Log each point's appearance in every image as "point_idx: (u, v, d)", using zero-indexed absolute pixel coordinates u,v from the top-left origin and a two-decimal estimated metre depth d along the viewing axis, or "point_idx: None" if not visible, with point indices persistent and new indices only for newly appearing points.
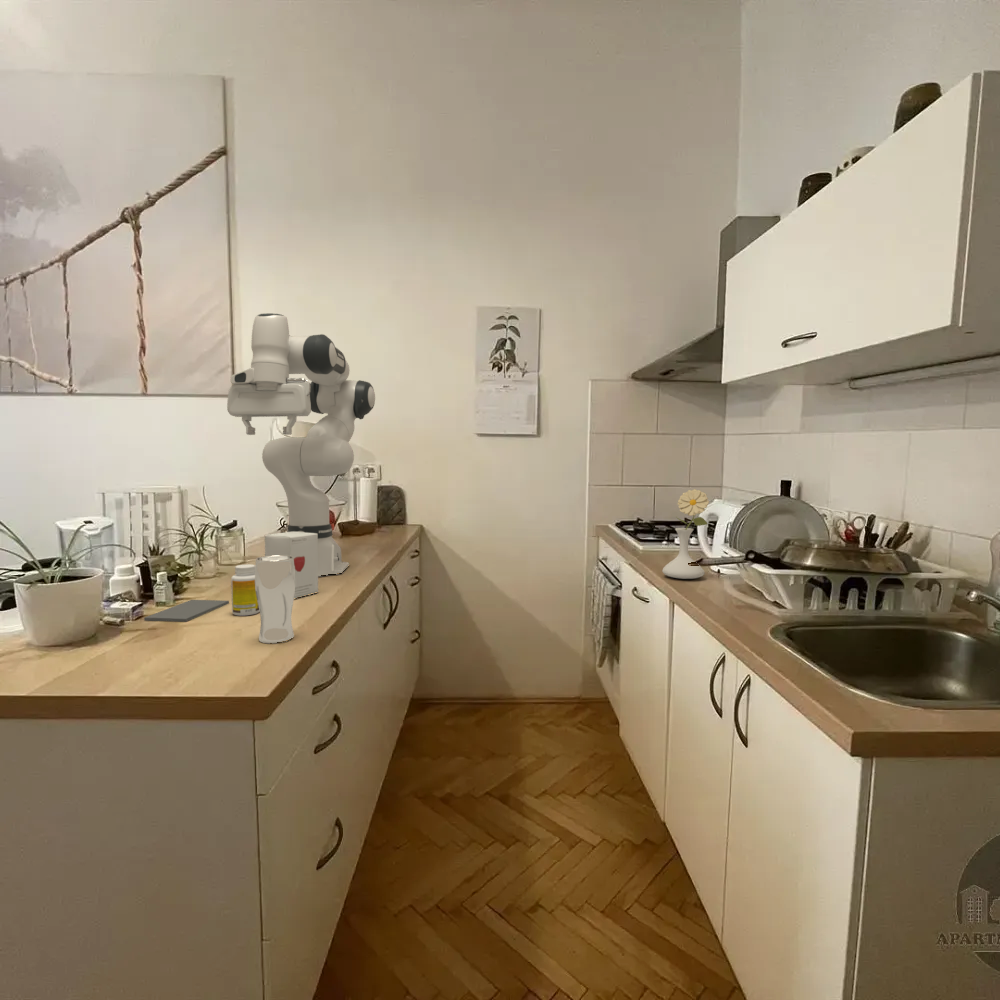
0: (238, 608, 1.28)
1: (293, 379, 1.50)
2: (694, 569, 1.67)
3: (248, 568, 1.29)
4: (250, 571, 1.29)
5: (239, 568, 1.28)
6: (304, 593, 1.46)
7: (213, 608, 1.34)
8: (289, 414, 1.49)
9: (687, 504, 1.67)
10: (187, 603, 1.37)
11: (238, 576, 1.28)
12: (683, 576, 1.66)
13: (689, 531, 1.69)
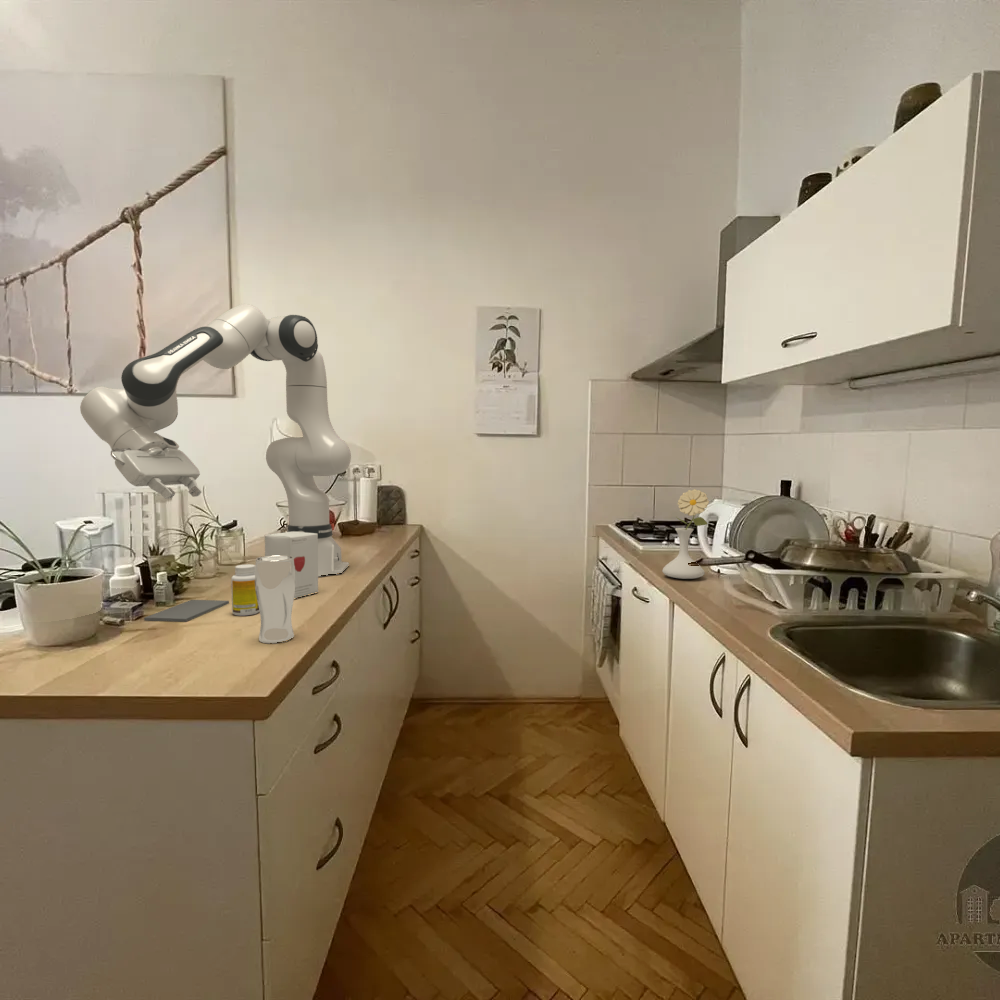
0: (238, 608, 1.28)
1: None
2: (694, 569, 1.67)
3: (248, 568, 1.29)
4: (250, 571, 1.29)
5: (239, 568, 1.28)
6: (304, 593, 1.46)
7: (213, 608, 1.34)
8: None
9: (687, 504, 1.67)
10: (187, 603, 1.37)
11: (238, 576, 1.28)
12: (683, 576, 1.66)
13: (689, 531, 1.69)
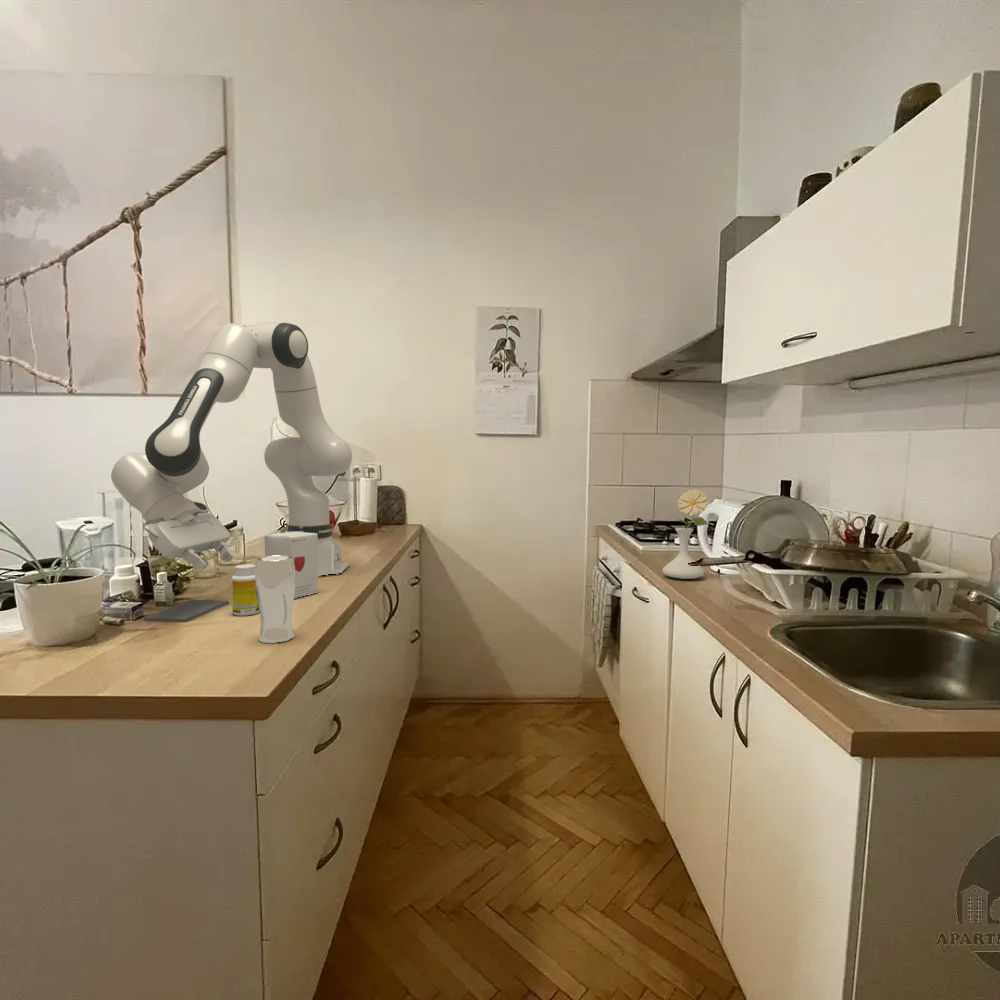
0: (238, 608, 1.28)
1: None
2: (694, 569, 1.67)
3: (248, 568, 1.29)
4: (250, 571, 1.29)
5: (239, 568, 1.28)
6: (304, 593, 1.46)
7: (213, 608, 1.34)
8: None
9: (687, 504, 1.67)
10: (187, 603, 1.37)
11: (238, 576, 1.28)
12: (683, 576, 1.66)
13: (689, 531, 1.69)
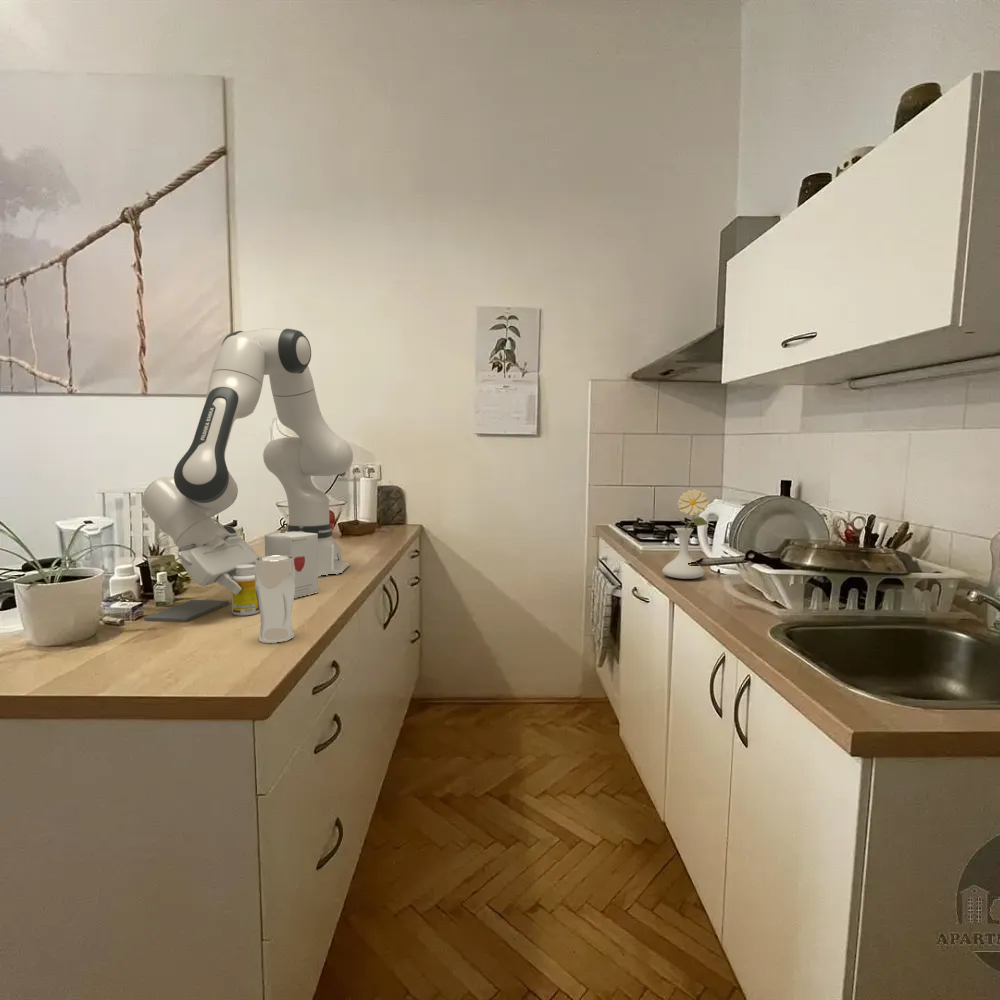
0: (238, 608, 1.28)
1: None
2: (694, 569, 1.67)
3: (248, 568, 1.29)
4: (250, 571, 1.29)
5: (239, 568, 1.28)
6: (304, 593, 1.46)
7: (213, 608, 1.34)
8: (214, 582, 1.25)
9: (687, 504, 1.67)
10: (187, 603, 1.37)
11: (238, 576, 1.28)
12: (683, 576, 1.66)
13: (689, 531, 1.69)
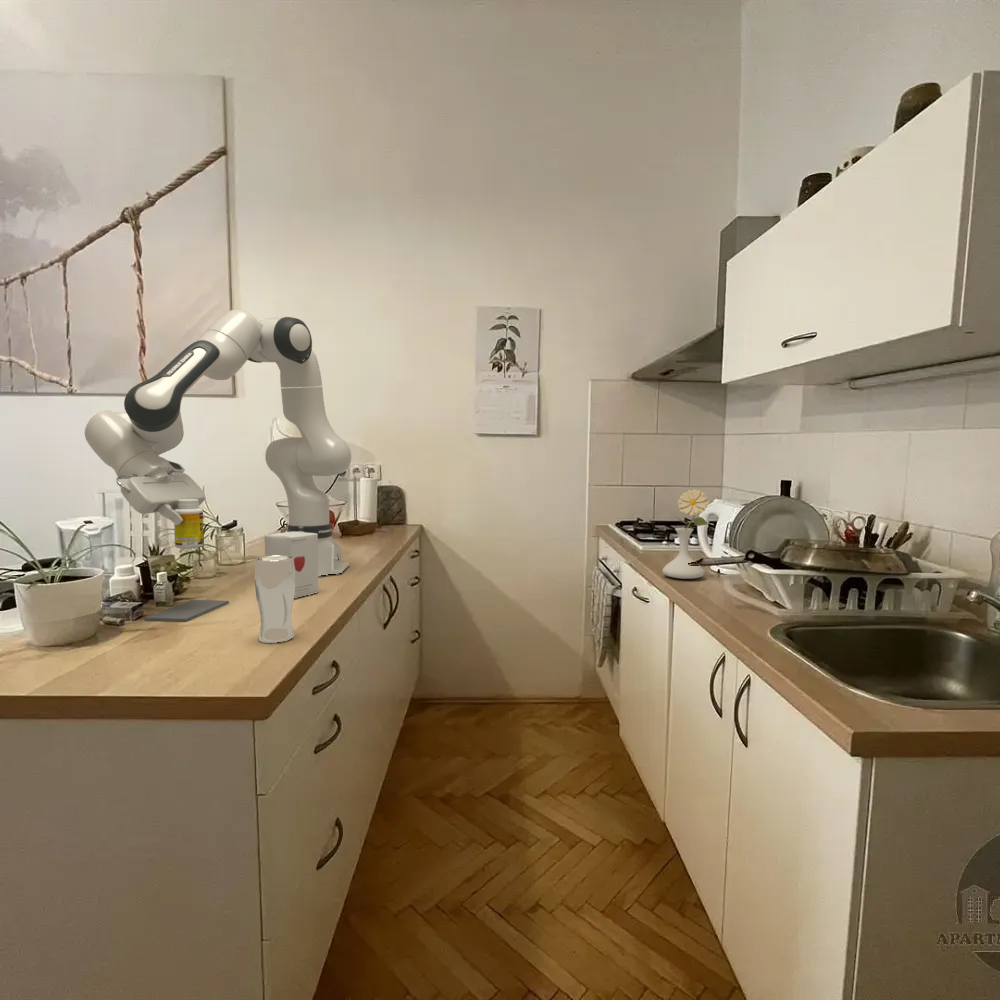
0: (180, 541, 1.28)
1: None
2: (694, 569, 1.67)
3: (190, 501, 1.29)
4: (193, 504, 1.29)
5: (181, 501, 1.29)
6: (304, 593, 1.46)
7: (213, 608, 1.34)
8: (154, 512, 1.25)
9: (687, 504, 1.67)
10: (187, 603, 1.37)
11: (180, 509, 1.29)
12: (683, 576, 1.66)
13: (689, 531, 1.69)
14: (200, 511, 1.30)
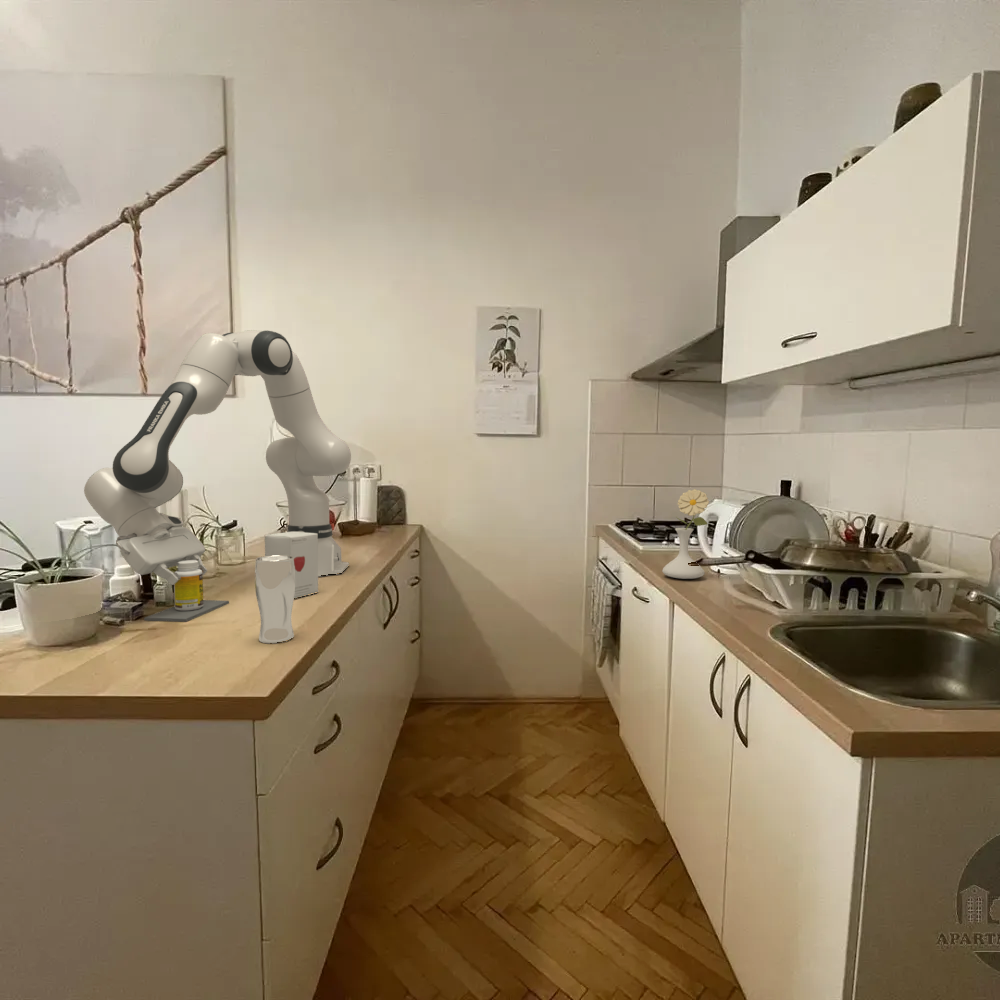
0: (180, 603, 1.30)
1: None
2: (694, 569, 1.67)
3: (190, 564, 1.30)
4: (192, 566, 1.31)
5: (181, 564, 1.30)
6: (304, 593, 1.46)
7: (213, 608, 1.34)
8: (154, 571, 1.26)
9: (687, 504, 1.67)
10: None
11: (180, 572, 1.30)
12: (683, 576, 1.66)
13: (689, 531, 1.69)
14: (200, 573, 1.31)
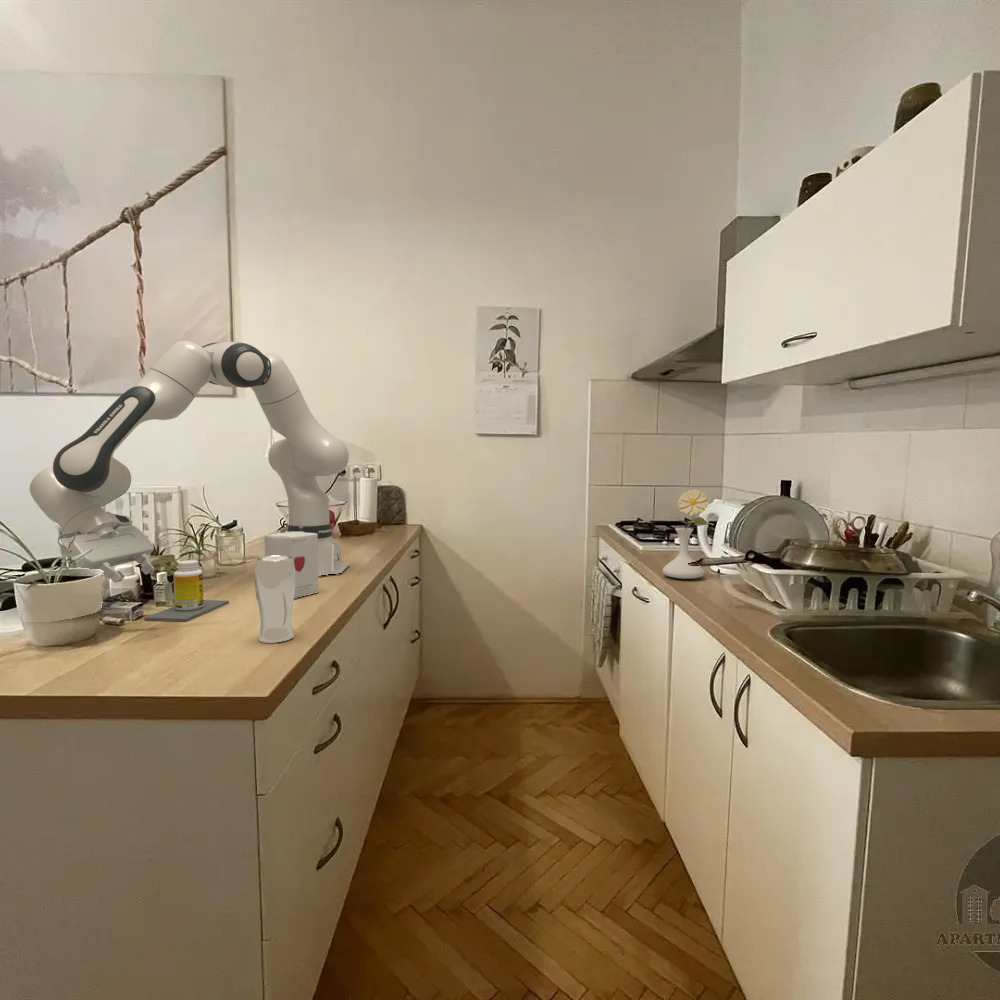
0: (180, 603, 1.30)
1: None
2: (694, 569, 1.67)
3: (190, 564, 1.30)
4: (192, 566, 1.31)
5: (181, 564, 1.30)
6: (304, 593, 1.46)
7: (213, 608, 1.34)
8: None
9: (687, 504, 1.67)
10: None
11: (180, 572, 1.30)
12: (683, 576, 1.66)
13: (689, 531, 1.69)
14: (200, 573, 1.31)
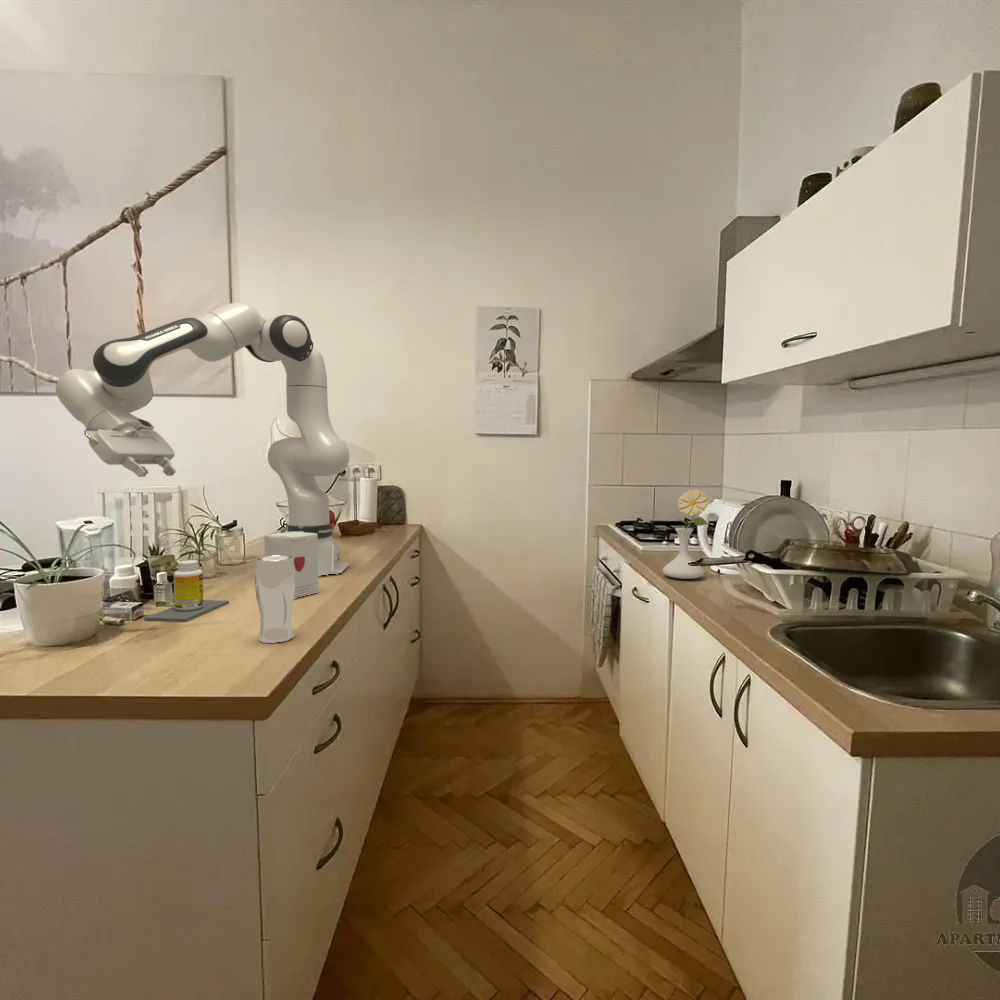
0: (180, 603, 1.30)
1: None
2: (694, 569, 1.67)
3: (190, 564, 1.30)
4: (192, 566, 1.31)
5: (181, 564, 1.30)
6: (304, 593, 1.46)
7: (213, 608, 1.34)
8: (121, 464, 1.31)
9: (687, 504, 1.67)
10: None
11: (180, 572, 1.30)
12: (683, 576, 1.66)
13: (689, 531, 1.69)
14: (200, 573, 1.31)
